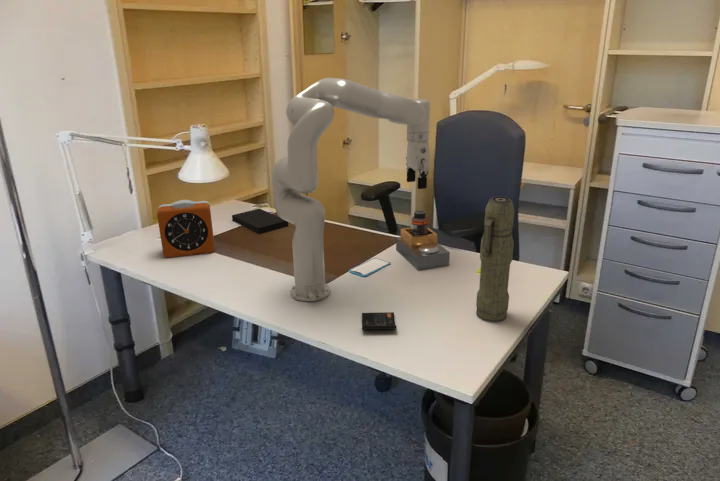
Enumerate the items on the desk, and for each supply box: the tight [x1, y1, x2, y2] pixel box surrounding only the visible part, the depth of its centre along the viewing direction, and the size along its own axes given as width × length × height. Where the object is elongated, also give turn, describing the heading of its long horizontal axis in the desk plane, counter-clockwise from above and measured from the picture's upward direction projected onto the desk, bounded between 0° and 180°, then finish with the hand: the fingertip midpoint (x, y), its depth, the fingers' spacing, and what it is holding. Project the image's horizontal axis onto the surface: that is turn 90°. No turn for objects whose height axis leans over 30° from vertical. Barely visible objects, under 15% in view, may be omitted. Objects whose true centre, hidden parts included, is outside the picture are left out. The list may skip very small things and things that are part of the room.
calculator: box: [361, 311, 397, 330], centre depth 154 cm, size 9×12×3 cm
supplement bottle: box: [410, 209, 429, 237], centre depth 198 cm, size 6×6×11 cm
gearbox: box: [395, 227, 450, 271], centre depth 197 cm, size 20×12×9 cm, turn 18°
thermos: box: [475, 196, 515, 323], centre depth 152 cm, size 9×12×35 cm
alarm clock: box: [156, 199, 215, 259], centre depth 203 cm, size 18×9×21 cm, turn 105°
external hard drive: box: [231, 208, 289, 235], centre depth 236 cm, size 14×23×3 cm, turn 40°
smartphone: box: [348, 257, 391, 278], centre depth 191 cm, size 8×1×15 cm
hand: (416, 185), depth 192 cm, fingers open, 9 cm apart
